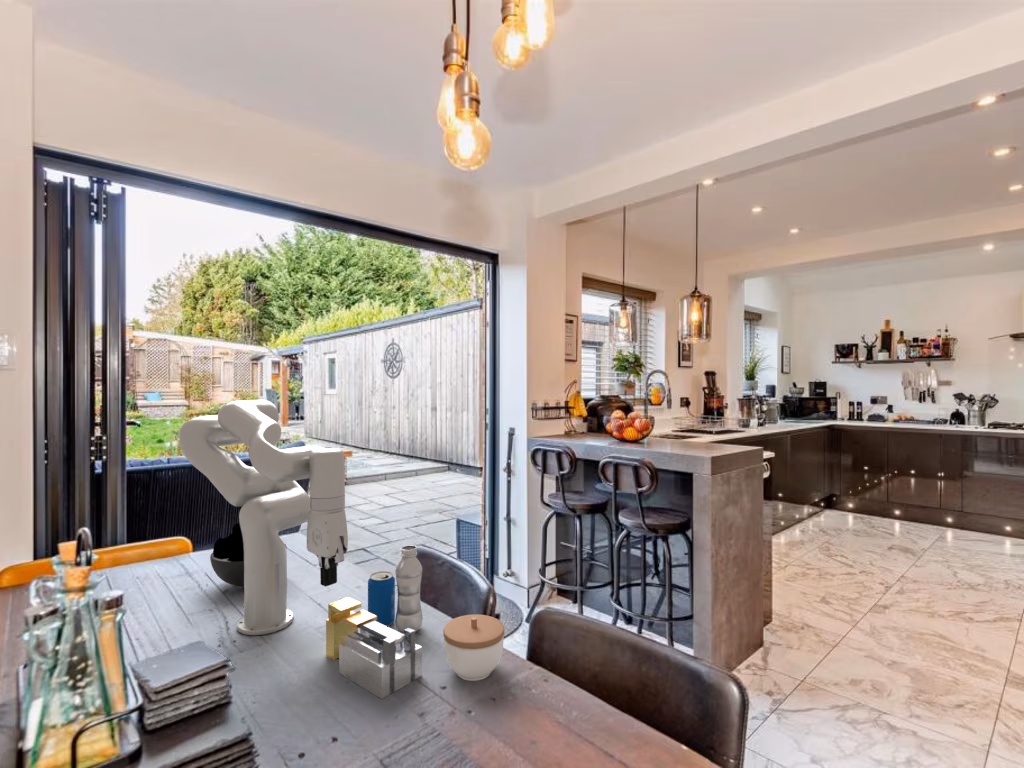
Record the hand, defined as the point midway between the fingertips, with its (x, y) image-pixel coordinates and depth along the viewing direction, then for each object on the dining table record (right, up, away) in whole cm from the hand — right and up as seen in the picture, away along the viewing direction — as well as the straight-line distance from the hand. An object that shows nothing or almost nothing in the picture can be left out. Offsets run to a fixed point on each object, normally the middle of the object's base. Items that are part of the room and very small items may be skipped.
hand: (328, 583), depth 119 cm
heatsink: (+15, -14, -12) cm, 23 cm away
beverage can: (+9, -14, +10) cm, 20 cm away
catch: (+4, -14, -3) cm, 15 cm away
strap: (+13, -6, -11) cm, 18 cm away
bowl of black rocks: (-35, -14, +35) cm, 51 cm away
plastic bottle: (+17, -14, +7) cm, 23 cm away
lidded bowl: (+34, -14, -10) cm, 38 cm away
